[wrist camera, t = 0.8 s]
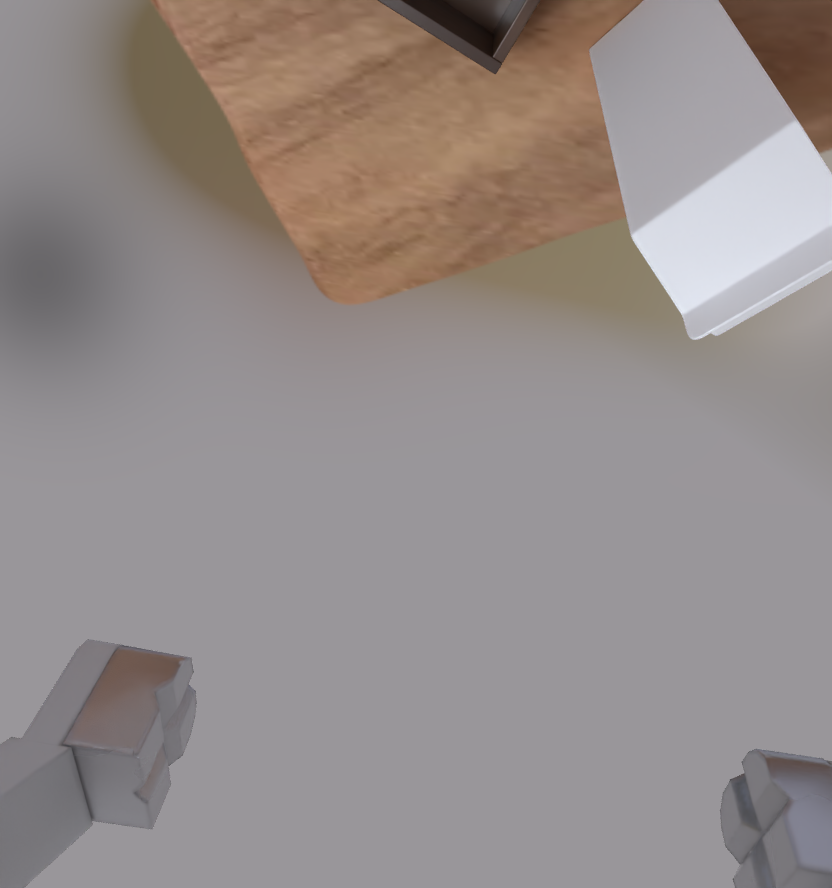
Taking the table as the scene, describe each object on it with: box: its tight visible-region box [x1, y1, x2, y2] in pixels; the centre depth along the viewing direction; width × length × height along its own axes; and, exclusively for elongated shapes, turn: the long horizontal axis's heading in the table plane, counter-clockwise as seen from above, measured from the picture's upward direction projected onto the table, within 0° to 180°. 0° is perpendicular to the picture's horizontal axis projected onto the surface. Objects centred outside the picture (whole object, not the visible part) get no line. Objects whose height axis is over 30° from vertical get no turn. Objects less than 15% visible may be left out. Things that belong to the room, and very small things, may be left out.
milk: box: [589, 0, 832, 340], centre depth 31 cm, size 6×6×22 cm
